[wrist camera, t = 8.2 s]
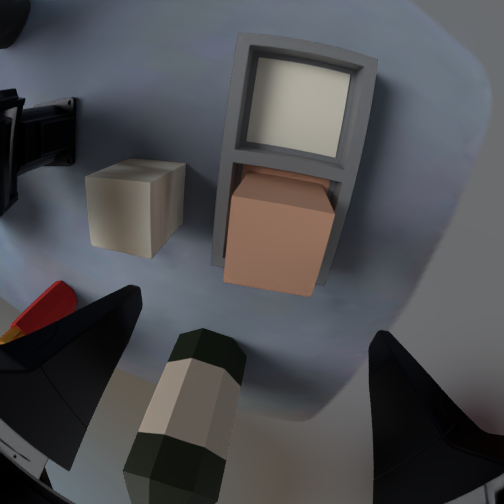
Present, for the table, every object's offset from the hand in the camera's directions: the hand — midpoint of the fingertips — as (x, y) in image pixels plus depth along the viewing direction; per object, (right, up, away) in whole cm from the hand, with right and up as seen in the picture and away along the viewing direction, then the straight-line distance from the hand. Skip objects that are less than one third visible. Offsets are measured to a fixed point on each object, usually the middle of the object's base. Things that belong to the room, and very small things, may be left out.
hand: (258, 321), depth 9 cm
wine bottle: (-5, -9, +20) cm, 22 cm away
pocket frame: (+2, +9, +9) cm, 13 cm away
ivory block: (-8, +7, +11) cm, 16 cm away
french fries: (-25, -4, +20) cm, 32 cm away
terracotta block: (+2, +5, +10) cm, 11 cm away
